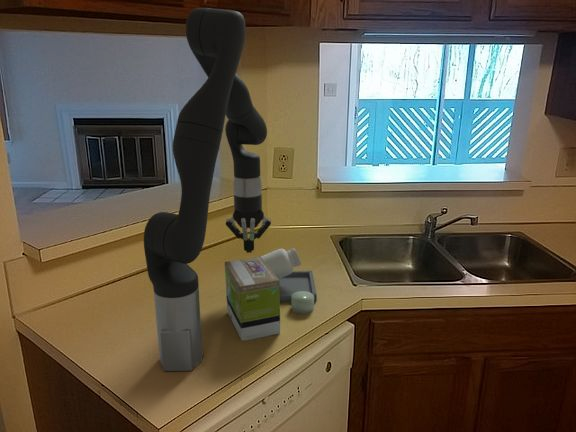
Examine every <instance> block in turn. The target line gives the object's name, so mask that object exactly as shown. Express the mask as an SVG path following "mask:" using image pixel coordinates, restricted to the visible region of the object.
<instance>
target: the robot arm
mask: <svg viewBox="0 0 576 432" xmlns="http://www.w3.org/2000/svg"><path fill="white" fill-rule="evenodd" d="M246 30H247V29H246V20H245V18H244V15H243V14H242V13H241V12H239V11H236V10H232V9H223V8H222V9H221V8H212V7H196V8H194V9H192V10H191V11H190V12H189V13H188V16H187V18H186V21H185V35H186V41H187V44H188V46H189V48H190V51H191V52H192V54H193V56H194V57H195V59H196V60H197V61H198V63H199V65H200V67H201V68H202V70H203V72H204V74H205V75H206V76H207V77H208V78H207V79H206V81H204V83H203V84H202V86H201V87H200V88H199V89H198V90H197V91H196V92H195V93H194V94H193V95H192V96H191V97H190V99H189V100H188V101H187V102H186V104H185V105H184V106H183V107H182V108H181V110H180V112H179V114H178V116H177V121H176V126H175V130H174V134H173V140H172V153H173V154H172V155H173V159H174V163H175V167H176V170H177V172H178V176H179V181H180V187H181V197H180V203H179V209H178V213H177V214H176V213H172V212H168V211H167V212H166V211H162V212H161V211H159V212H156V213H155V214H153V215H152V216H151V217H150V218H149V219H148V221H147V222H146V224H145V227H144V231H143V249H144V250H143V251H144V255H145V264H146V269H147V271H146V272H147V275H148V278H149V281H150V282H151V284H152V289H153V297H154V298H153V299H154V309H155V310H154V311H155V320H156V321H155V322H156V333H157V344H158V353H159V354H158V356H159V363H160V366H161V367H162V371H163V372H187V371H188V372H192V371H193V370H194V368H195V367H197V366H198V365H199V364H200V363H201V362H202V361H203V357H204V356H203V355H204V354H203V340H202V325H201V323H202V322H201V306H200V287H199V286H200V285H199V284H200V283H199V276H198V272H196V271H195V270H194V269H193V268H192V267H191V266H190V265H189V264H191V263H193V262H194V261H195V260H197V258H198V257H199V255H200V253H201V252H202V249H203V246H204V244H205V238H206V231H207V225H208V216H209V215H208V214H209V207H210V197H211V192H212V191H211V190H212V185H213V179H214V173H215V167H216V163H217V159H218V156H219V155H218V154H219V151H220V146H221V141H222V137H223V133H224V128H225V136H226V137H225V138H226V140H227V143H228V145H229V149H230V152H231V156H232V160H233V183H232V184H233V185H232V186H233V208H234V209H233V211H234V212H233V213H232V216H231V217H230V218H227V219H226V220H225V226H227V227H226V228H228V230H230V231H231V233H232V234H234V236H235V237H236V238H237V239H239V240H240V239H241V240H243V251H245V252H246V254H248V253H250V254H251V253H253V251H255V240H256V239H260V238H261V237H262V235H264V233H265V232H266V231H268V228H270V226H271V225H272V220H271V218H268V217H266V216H265V214H264V212H263V200H262V199H263V197H262V195H263V194H262V192H263V188H262V187H263V185H262V177H261V157H260V156H259V154H257V153H254V152H250V151H248V150H246V148H244V146H243V145H247V146H250V145H251V146H252V145H253V146H257V145H258V146H259V145H261V144H263V143H264V142H265V140H266V139H267V135H268V127H267V125H266V122H265V120H264V118H263V117H262V115H261V114H260V113H259V111H258V110H257V109H256V107H255V106H254V104H253V101H252V98H251V94H250V91H249V89H248V87H247V85H246V82H244V80H242V78H241V77H240V76H239V75H238V74H237V71H238V67H239V63H240V61H241V59H242V58H241V57H242V54H243V49H244V46H245V40H246ZM226 118H227V122H226V123H225V120H226ZM224 126H225V127H224ZM260 223H261V226H260V227H259V229H258V230H257V231H256V232H255V229H256V228H257V227H258V226H259V224H260ZM236 224H237V225H238V226H239V227H240V228H241V230H242V231H241V230H240V229H239V228H238V227H237V226H236ZM248 231H249V232H248Z"/></svg>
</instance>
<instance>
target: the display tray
mask: <svg viewBox="0 0 576 432" xmlns="http://www.w3.org/2000/svg"><path fill="white" fill-rule="evenodd" d="M279 280H280V303H281V302H283V303H284V302H285V303H287V302H291V296H292V294H293V293H295V292H299V291H306V292H310V293H312V294H313V295H314V302H317V297H318V296H317V289H316V284H315V279H314V273H313V270H293V272H292V273H291V274H290V275H288V276H285V277H283V278H280V279H279Z"/></svg>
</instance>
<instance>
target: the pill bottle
mask: <svg viewBox="0 0 576 432" xmlns="http://www.w3.org/2000/svg"><path fill="white" fill-rule="evenodd" d="M260 256H261V258H262V259H263V260H264V261H265V263H266V264H267V265H268V266H269V268H270V269H271V270H272V271H273V273H274V274H275V275H276V276H277V278H278V279H280V278H283V277H285V276H288V275H290V274H291V273H292V272H293V271H294V268H296V267H299V266H301V265H302V261H301V260H300V257H299V254H298V253H297V250H296V249H295V247H292V248H290V249H288V250H287V251H286V250H285V249H284V248H278V249H276V250H274V251H270V252H269V253H265V255H260Z"/></svg>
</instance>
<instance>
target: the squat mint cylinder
mask: <svg viewBox="0 0 576 432" xmlns="http://www.w3.org/2000/svg"><path fill="white" fill-rule="evenodd" d="M290 307H291V310H292V311H293V312H295V313H297V314H303V315H304V314H309V313H312V312H313V311H314V309H315V301H314V295H313V294H312V293H310V292H306V291H299V292H295V293H293V294H292V296H291V306H290Z"/></svg>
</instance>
